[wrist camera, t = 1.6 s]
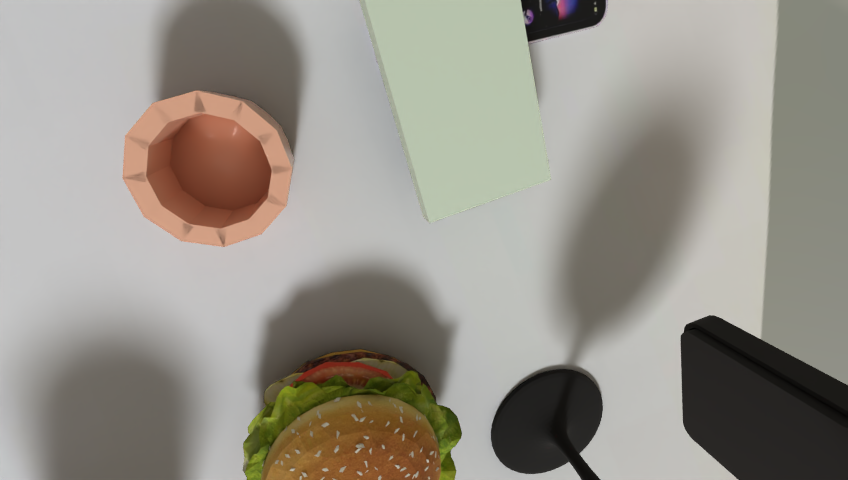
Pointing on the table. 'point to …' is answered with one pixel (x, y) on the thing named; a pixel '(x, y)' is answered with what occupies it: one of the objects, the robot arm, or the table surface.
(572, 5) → the smartphone
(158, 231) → the table surface
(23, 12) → the table surface
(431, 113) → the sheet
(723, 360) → the robot arm
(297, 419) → the food
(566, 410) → the wine glass
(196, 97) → the ramekin
